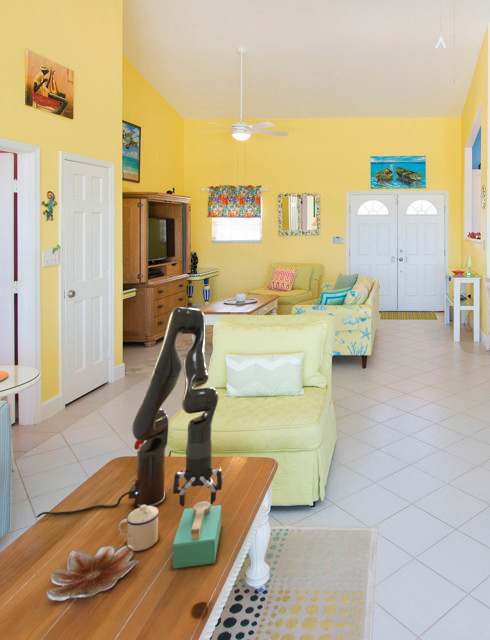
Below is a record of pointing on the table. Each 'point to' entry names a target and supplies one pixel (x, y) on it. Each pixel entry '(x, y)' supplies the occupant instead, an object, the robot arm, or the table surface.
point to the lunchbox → (196, 552)
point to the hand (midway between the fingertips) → (197, 504)
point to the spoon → (199, 517)
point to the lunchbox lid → (206, 532)
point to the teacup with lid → (141, 527)
